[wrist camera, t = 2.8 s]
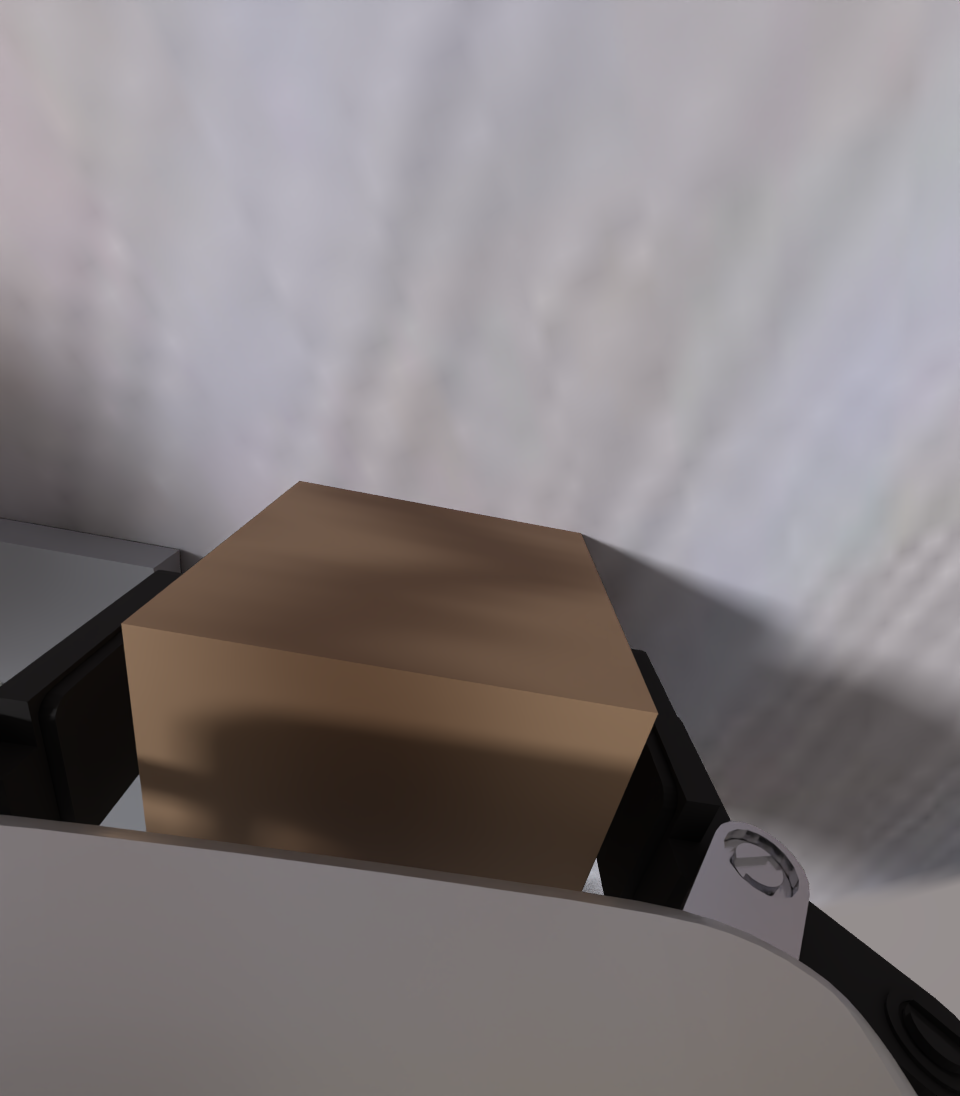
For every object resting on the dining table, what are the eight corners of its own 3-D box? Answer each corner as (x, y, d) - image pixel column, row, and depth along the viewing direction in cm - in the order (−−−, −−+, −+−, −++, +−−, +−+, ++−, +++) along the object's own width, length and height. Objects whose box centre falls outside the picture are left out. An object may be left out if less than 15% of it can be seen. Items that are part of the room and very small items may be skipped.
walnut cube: (580, 531, 12) (657, 712, 6) (519, 739, 14) (536, 996, 9) (300, 479, 11) (121, 623, 6) (291, 702, 14) (160, 945, 8)
